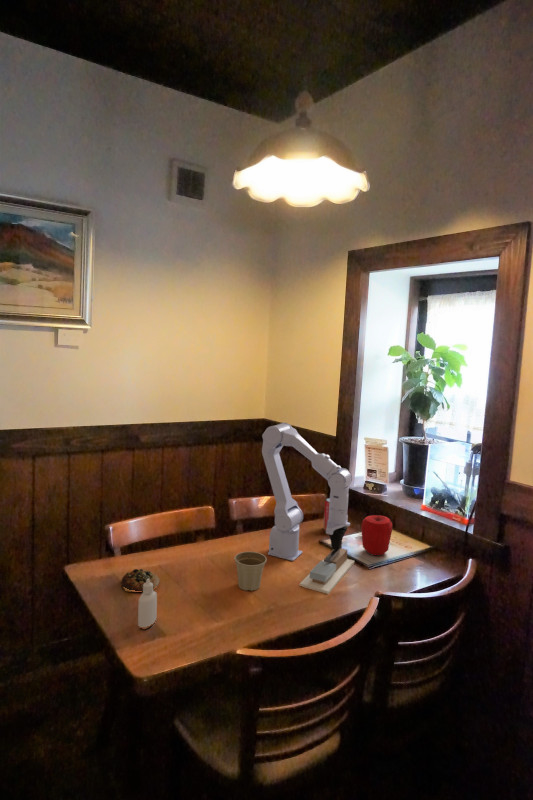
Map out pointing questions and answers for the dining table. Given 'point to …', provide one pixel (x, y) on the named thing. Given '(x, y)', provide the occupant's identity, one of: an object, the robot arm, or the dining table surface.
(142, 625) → the eye dropper bottle
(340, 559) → the latch box
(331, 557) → the bolt
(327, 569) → the cover
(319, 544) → the dining table surface
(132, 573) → the bread roll
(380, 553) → the apple
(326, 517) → the soda can
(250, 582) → the flower pot
